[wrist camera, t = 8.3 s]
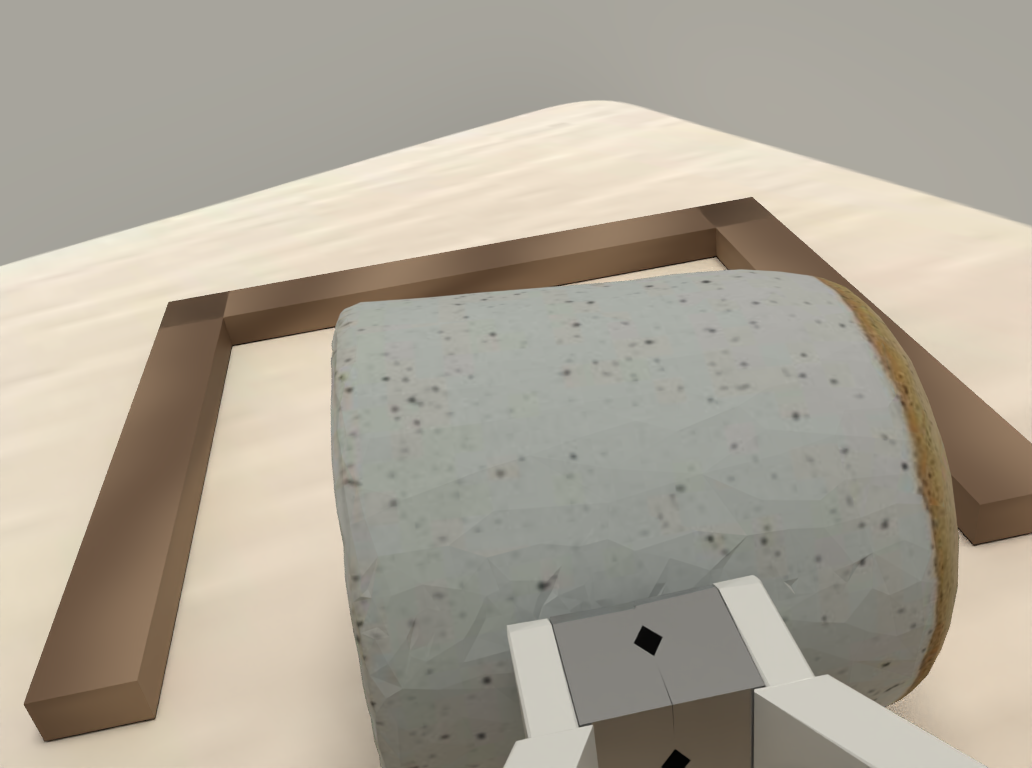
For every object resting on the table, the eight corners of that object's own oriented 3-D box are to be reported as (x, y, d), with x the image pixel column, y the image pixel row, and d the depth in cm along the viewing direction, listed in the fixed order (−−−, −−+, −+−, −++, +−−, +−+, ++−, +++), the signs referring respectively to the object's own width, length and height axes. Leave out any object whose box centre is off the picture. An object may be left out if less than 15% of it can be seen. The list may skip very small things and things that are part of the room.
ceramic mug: (968, 811, 14) (1045, 353, 10) (419, 932, 14) (286, 497, 10) (727, 433, 23) (720, 118, 19) (393, 497, 23) (320, 186, 19)
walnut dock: (44, 741, 18) (23, 704, 17) (177, 328, 32) (168, 302, 32) (1068, 524, 19) (1078, 484, 18) (752, 224, 34) (752, 196, 33)
